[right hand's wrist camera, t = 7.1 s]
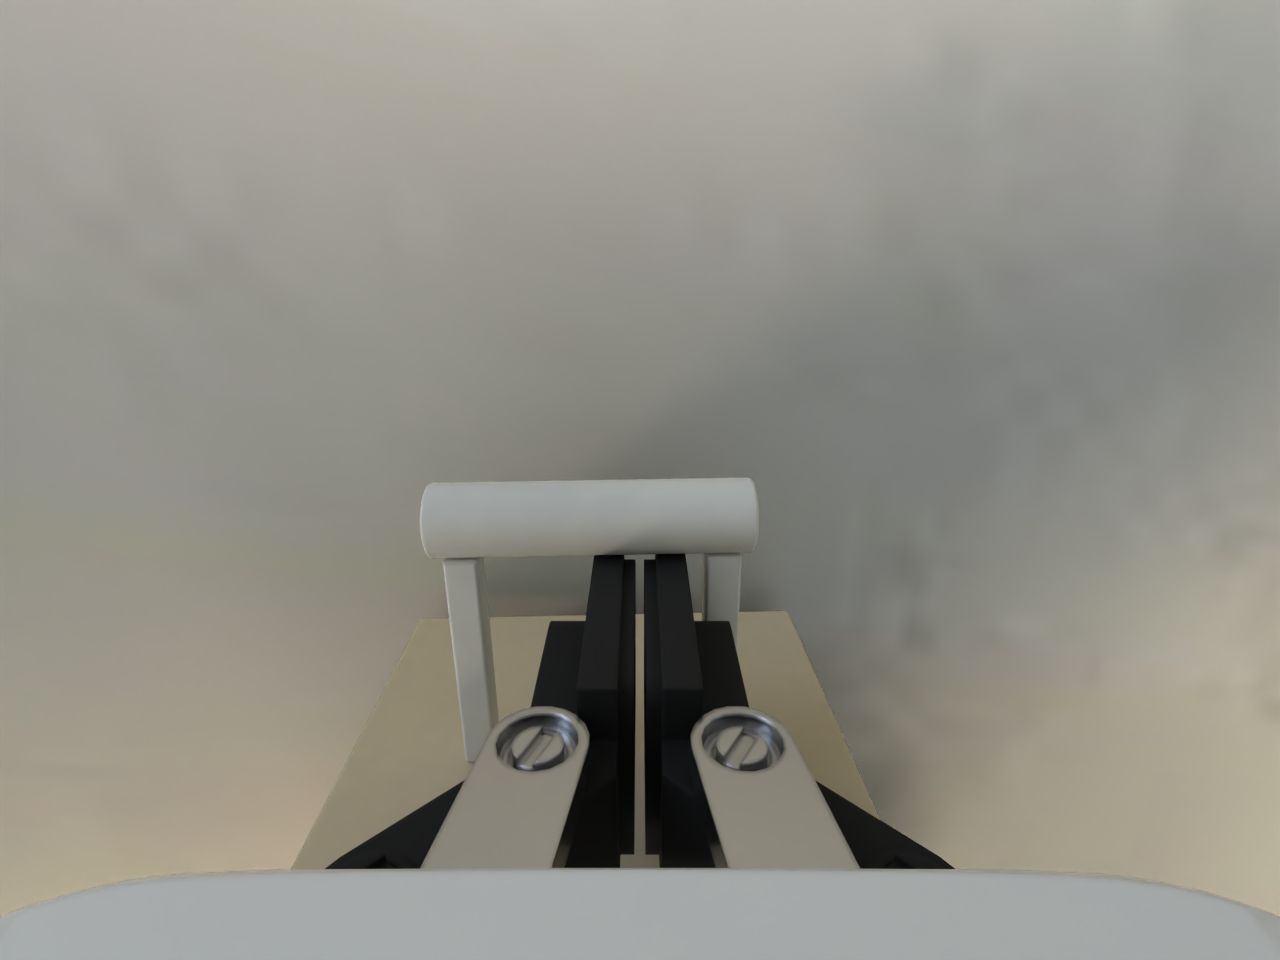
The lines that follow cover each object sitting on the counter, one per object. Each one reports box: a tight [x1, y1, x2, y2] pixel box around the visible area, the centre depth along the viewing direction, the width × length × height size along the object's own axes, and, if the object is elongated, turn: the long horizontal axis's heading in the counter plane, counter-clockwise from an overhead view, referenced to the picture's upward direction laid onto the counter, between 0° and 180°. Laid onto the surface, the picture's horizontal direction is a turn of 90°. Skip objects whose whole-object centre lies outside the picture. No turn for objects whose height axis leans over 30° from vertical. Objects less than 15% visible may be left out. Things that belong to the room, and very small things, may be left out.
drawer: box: [291, 478, 880, 869], centre depth 16 cm, size 22×10×8 cm, turn 0°
